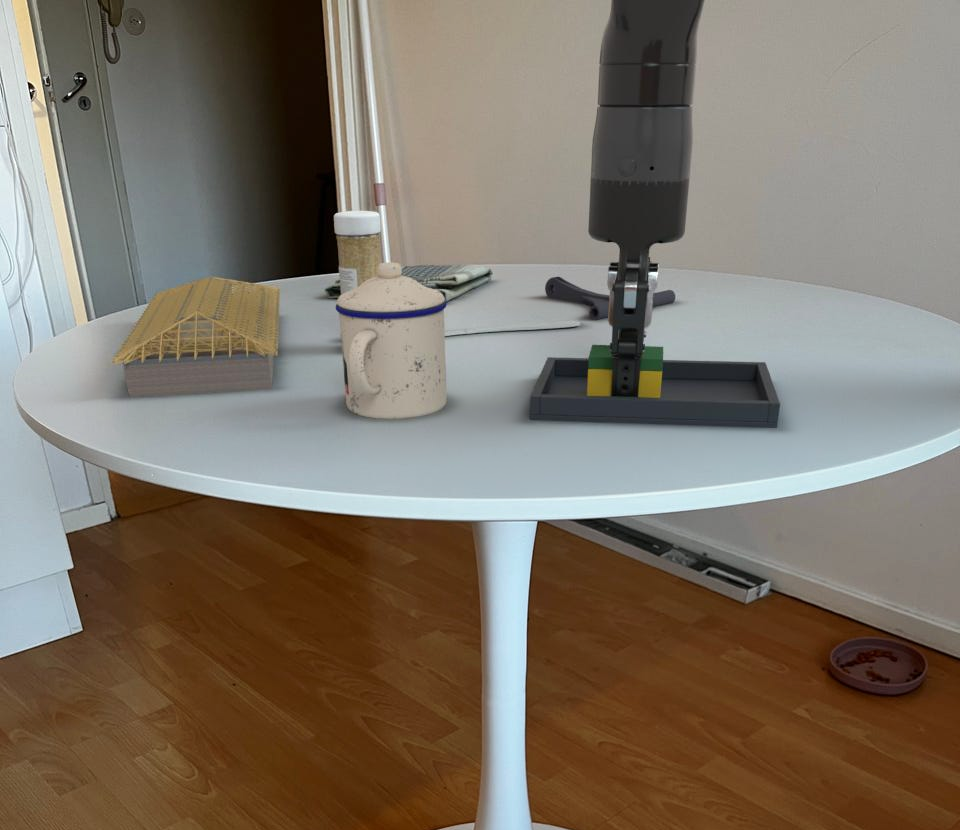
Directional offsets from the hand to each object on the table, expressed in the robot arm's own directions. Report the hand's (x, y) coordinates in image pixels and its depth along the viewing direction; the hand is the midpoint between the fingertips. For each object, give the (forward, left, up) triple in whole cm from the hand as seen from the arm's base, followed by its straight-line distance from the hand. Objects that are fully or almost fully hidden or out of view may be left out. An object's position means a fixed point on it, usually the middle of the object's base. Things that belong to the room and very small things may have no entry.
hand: (625, 393), depth 85 cm
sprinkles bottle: (+28, -18, -1) cm, 33 cm away
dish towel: (+31, -53, -1) cm, 62 cm away
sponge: (0, 0, -1) cm, 1 cm away
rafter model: (+43, -16, -1) cm, 46 cm away
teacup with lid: (+20, +4, -1) cm, 20 cm away
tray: (-2, -1, -1) cm, 3 cm away
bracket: (+6, -45, -1) cm, 46 cm away
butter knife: (+19, -26, -1) cm, 32 cm away
